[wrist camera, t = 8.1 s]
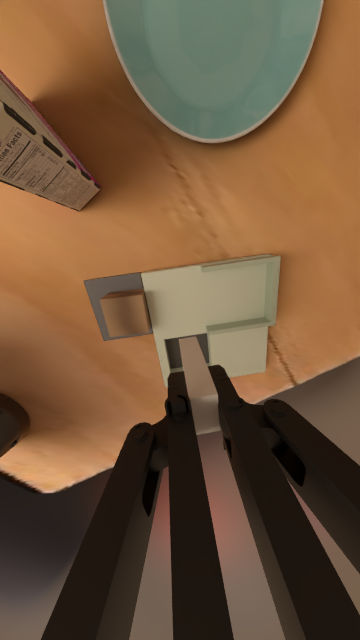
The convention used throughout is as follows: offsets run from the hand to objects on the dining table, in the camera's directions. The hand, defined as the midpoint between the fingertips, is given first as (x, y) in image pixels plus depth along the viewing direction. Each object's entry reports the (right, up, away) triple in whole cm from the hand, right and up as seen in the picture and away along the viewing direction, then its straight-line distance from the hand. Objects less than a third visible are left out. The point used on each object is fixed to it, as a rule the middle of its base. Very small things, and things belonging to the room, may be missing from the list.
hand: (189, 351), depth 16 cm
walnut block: (-9, +5, +15) cm, 18 cm away
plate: (+3, +36, +5) cm, 36 cm away
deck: (+4, +2, +18) cm, 18 cm away
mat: (-11, +5, +15) cm, 19 cm away
